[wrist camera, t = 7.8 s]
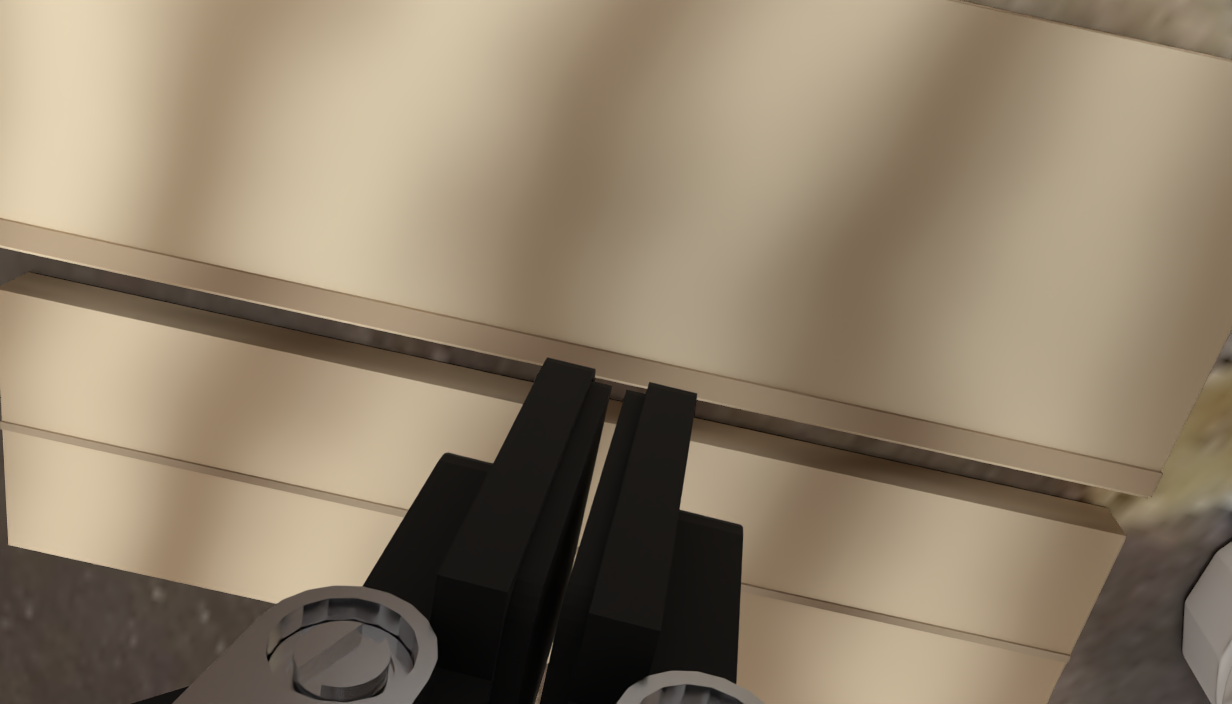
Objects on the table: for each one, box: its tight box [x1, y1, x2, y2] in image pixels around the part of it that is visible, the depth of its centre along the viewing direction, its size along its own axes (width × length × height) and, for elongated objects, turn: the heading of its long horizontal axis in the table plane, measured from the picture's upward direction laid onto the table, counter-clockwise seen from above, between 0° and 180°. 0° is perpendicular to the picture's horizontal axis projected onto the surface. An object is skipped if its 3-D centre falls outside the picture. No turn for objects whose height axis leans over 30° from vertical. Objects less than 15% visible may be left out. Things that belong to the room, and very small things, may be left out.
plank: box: [0, 0, 1232, 498], centre depth 21 cm, size 26×9×1 cm, turn 79°
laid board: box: [0, 272, 1127, 704], centre depth 25 cm, size 26×7×1 cm, turn 79°
